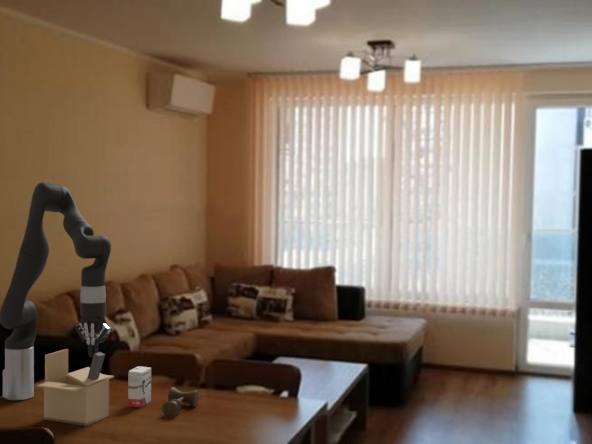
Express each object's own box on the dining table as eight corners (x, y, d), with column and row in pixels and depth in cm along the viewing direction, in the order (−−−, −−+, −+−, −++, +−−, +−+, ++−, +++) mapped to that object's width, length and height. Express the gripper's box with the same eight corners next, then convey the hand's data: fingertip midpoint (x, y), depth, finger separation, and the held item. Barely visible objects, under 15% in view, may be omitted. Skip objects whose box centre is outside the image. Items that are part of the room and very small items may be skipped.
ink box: (141, 408, 239) (141, 372, 238) (127, 407, 240) (127, 371, 239) (151, 401, 247) (151, 366, 247) (138, 400, 248) (138, 365, 248)
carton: (34, 423, 221) (34, 357, 221) (75, 406, 239) (75, 346, 238) (77, 430, 215) (77, 362, 215) (116, 412, 233) (116, 350, 232)
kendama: (154, 417, 230) (176, 399, 250) (183, 420, 228) (203, 401, 248) (154, 399, 230) (177, 381, 249) (183, 402, 228) (204, 384, 248)
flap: (66, 375, 222) (73, 349, 221) (87, 368, 231) (94, 343, 230) (87, 386, 219) (94, 359, 218) (107, 378, 228) (114, 353, 227)
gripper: (67, 300, 223) (67, 356, 223) (103, 303, 218) (103, 361, 218) (83, 297, 230) (83, 352, 230) (118, 300, 225) (118, 356, 225)
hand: (93, 356), depth 224 cm, fingers closed
